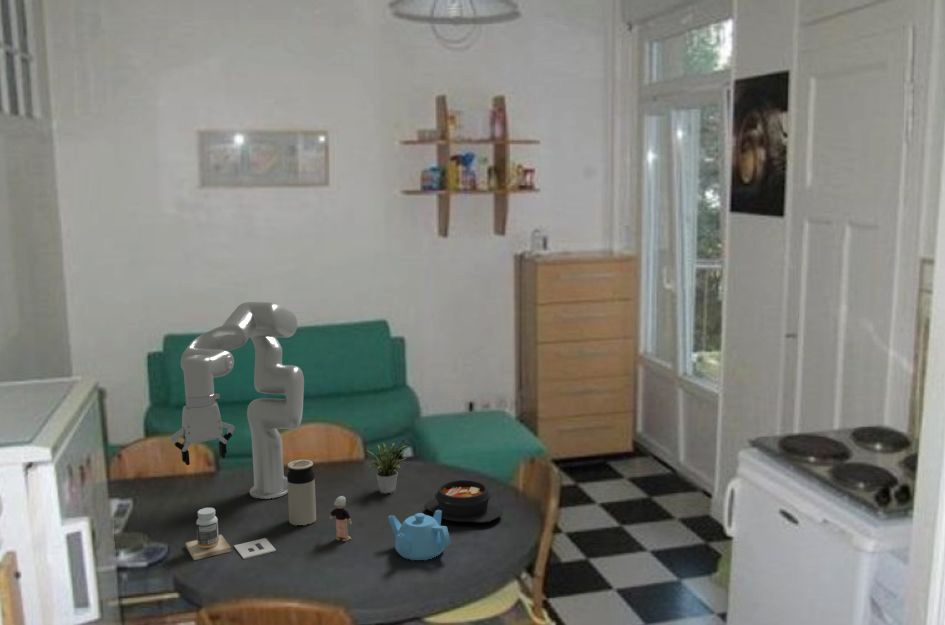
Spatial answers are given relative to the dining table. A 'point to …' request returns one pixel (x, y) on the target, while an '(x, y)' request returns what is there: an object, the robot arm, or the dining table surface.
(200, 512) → the pill bottle
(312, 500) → the travel mug
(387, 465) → the house plant
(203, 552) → the coaster
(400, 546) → the teapot
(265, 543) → the tile
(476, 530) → the dining table surface
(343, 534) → the grandmother figurine
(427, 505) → the casserole
